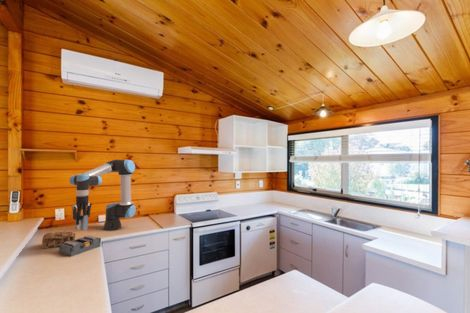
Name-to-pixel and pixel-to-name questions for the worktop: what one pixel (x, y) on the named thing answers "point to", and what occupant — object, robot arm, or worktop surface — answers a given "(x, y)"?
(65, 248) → the rack
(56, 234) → the bread
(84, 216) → the block
